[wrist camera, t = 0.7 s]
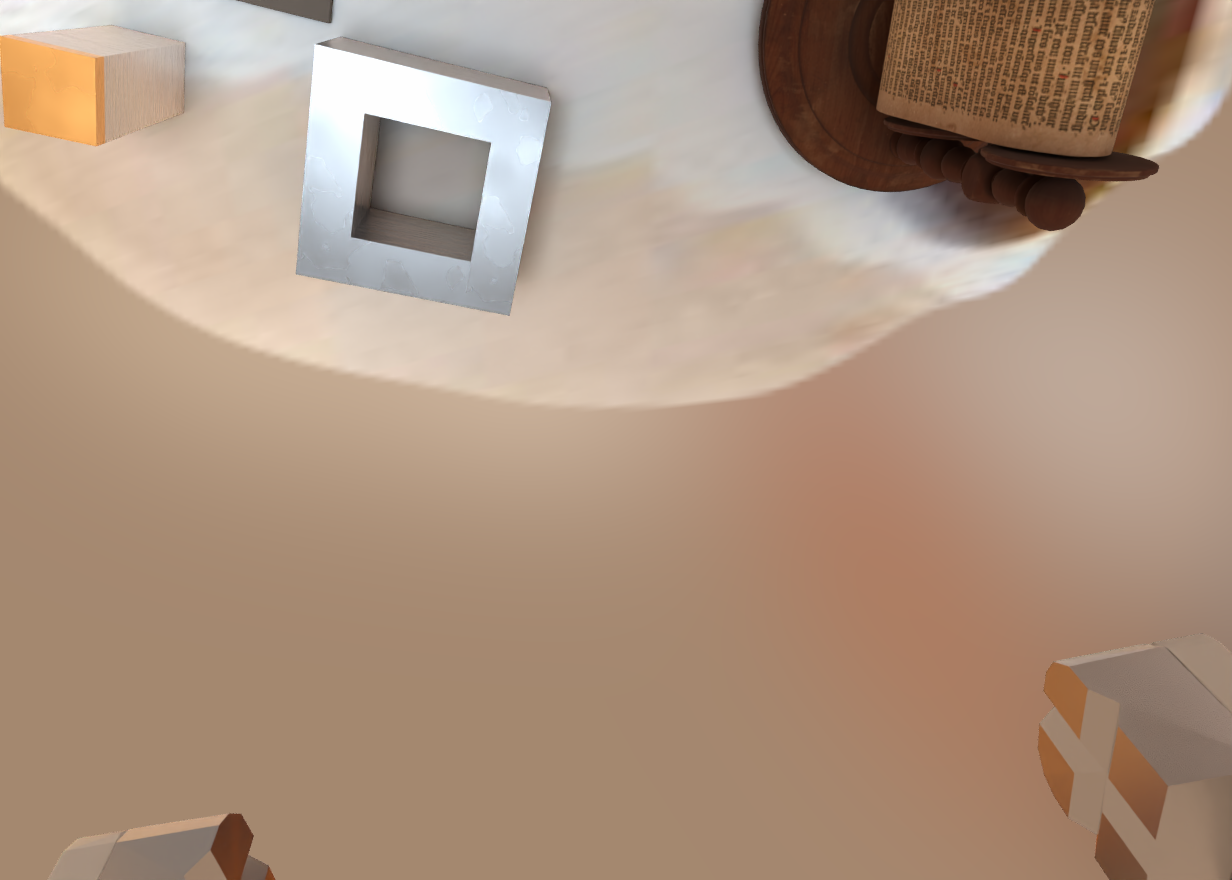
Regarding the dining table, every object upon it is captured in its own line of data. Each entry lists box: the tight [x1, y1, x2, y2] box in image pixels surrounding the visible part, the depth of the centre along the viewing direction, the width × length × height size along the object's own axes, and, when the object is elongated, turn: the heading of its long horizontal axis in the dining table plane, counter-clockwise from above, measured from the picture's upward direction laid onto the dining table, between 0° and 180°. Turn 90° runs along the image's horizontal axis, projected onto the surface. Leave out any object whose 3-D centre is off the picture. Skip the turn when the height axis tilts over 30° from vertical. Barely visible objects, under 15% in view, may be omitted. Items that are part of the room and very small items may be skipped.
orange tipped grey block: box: [0, 25, 185, 146], centre depth 37 cm, size 3×3×10 cm
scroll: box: [758, 0, 1159, 231], centre depth 35 cm, size 15×15×20 cm
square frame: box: [296, 37, 551, 316], centre depth 42 cm, size 10×10×6 cm
